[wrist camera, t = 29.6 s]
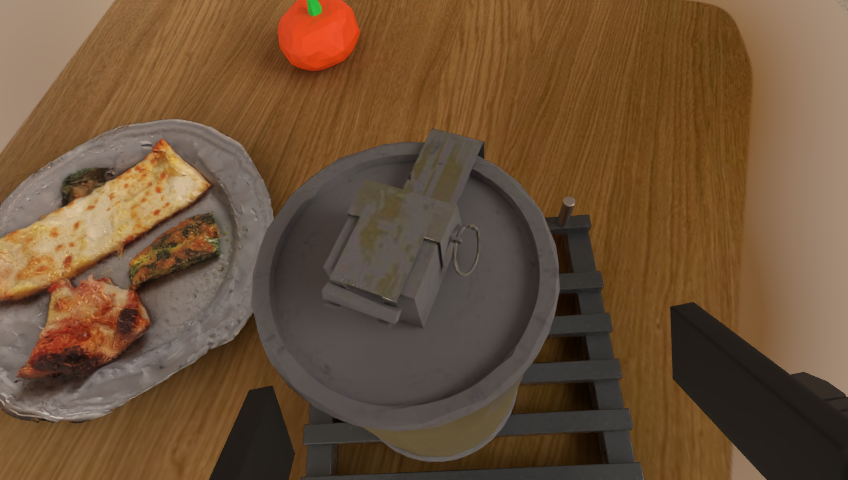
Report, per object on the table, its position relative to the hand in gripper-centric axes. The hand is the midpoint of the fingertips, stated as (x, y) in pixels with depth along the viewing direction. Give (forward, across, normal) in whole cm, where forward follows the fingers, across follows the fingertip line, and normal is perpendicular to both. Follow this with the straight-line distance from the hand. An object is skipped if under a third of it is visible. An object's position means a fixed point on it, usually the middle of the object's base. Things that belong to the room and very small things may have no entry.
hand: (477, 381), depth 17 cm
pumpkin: (+39, -7, +13) cm, 42 cm away
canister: (+14, -2, -8) cm, 17 cm away
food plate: (+26, -24, -1) cm, 36 cm away
